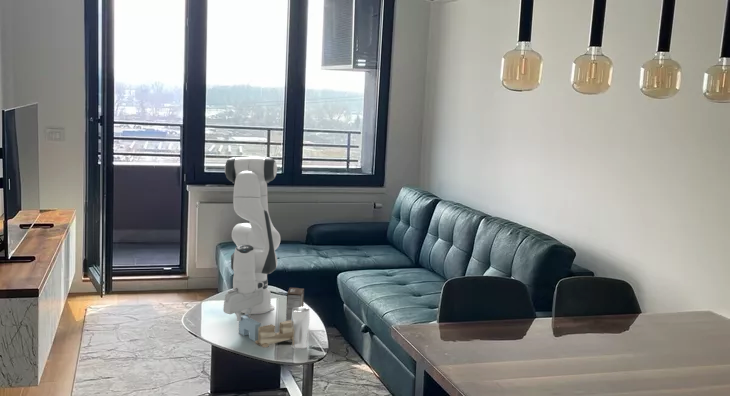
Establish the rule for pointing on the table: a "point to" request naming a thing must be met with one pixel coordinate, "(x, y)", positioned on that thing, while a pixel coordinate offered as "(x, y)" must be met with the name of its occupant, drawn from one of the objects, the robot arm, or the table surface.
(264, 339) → the birch rail
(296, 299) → the coffee box
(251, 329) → the notched blue-grey block
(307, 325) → the beer glass
